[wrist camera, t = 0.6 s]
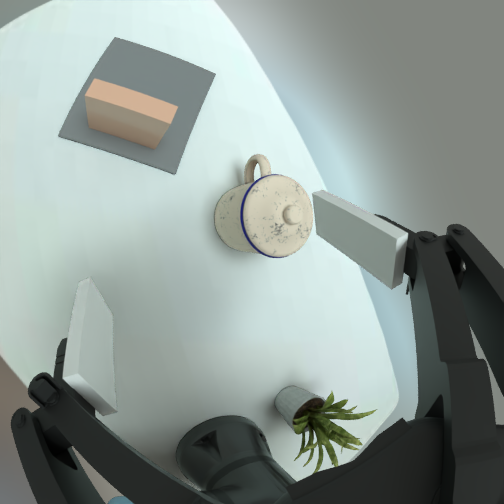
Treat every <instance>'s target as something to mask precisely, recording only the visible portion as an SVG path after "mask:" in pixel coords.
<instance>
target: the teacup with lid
mask: <svg viewBox="0 0 504 504" xmlns="http://www.w3.org/2000/svg"><path fill="white" fill-rule="evenodd" d="M257 163H258V164H259V166H260V172H261V178H259V179H258V180H256V181H254V169H255V166H256V164H257ZM244 182H245V185H241V186H238V187H235V188H233V189H231V190H229V191H228V192H226V193H225V194H224V195H223V196H222V197H221V199H220V200H219V202H218V204H217V207H216V210H215V226H216V230H217V232H218V234H219V236H220V238H221V239H222V240H223V242H224V243H225V244H227V245H228V246H229V247H231V248H233V249H235V250H239V251H245V252H252V253H259V254H262V255H265V256H267V257H271V258H283V257H287V256H289V255H291V254H293V253H295V252H296V251H298V250H299V249H300V248H301V247H302V246H303V245H304V244H305V242H306V241H307V239H308V237H309V235H310V232H311V229H312V224H313V210H312V205H311V202H310V199H309V197H308V195H307V193H306V192H305V190H304V189H303V188H302V187H301V185H299V184H298V183H297V182H296V181H295V180H293V179H291V178H289V177H286V176H283V175H278V174H271V168H270V164H269V161H268V159H267V158H266V157H265V156H264V155H260V154H257V155H253V156H252V157H251V158H250V159H249V160H248V162H247V164H246V166H245V171H244Z"/></svg>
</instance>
